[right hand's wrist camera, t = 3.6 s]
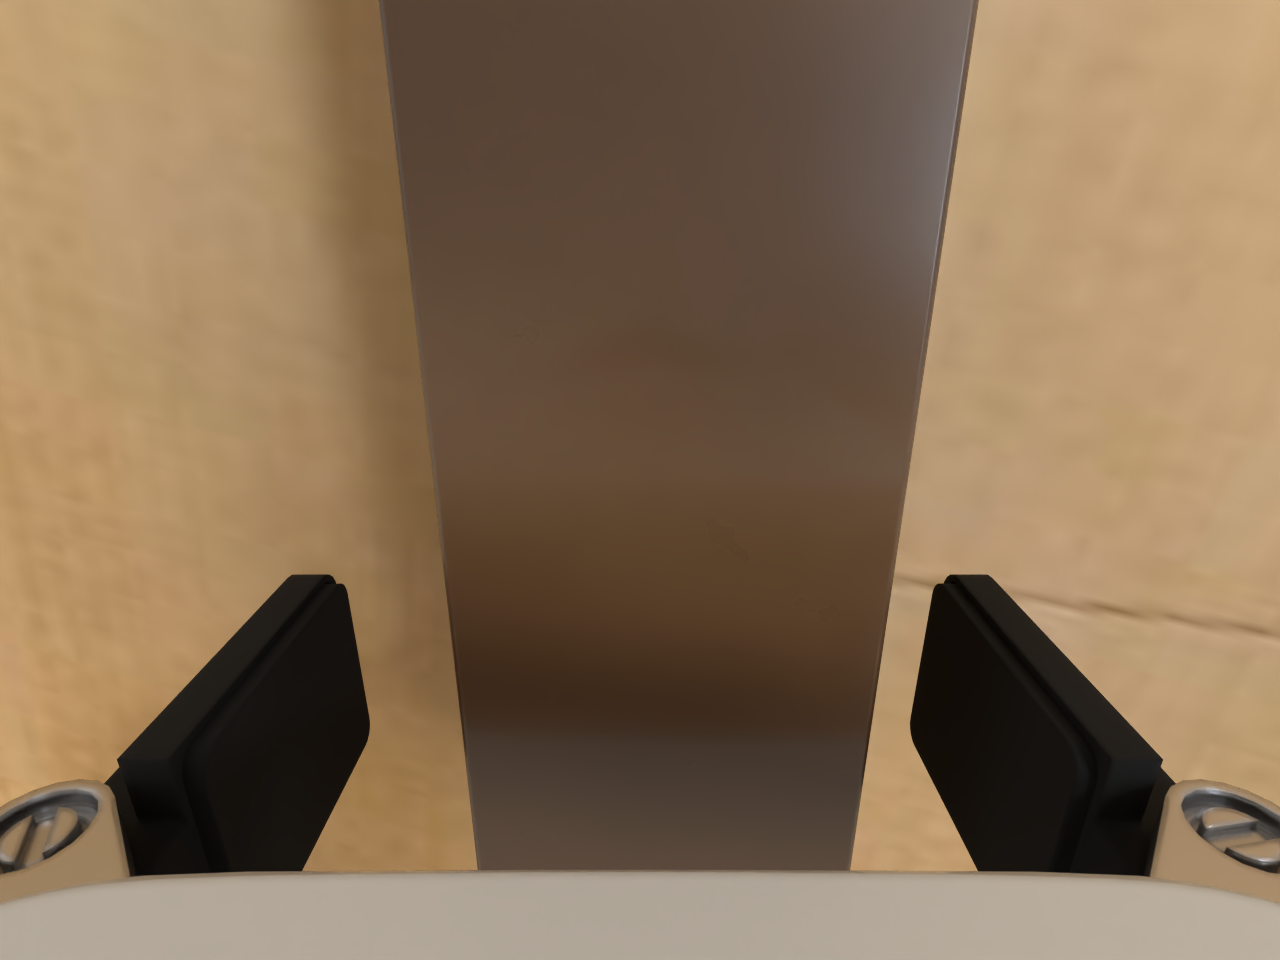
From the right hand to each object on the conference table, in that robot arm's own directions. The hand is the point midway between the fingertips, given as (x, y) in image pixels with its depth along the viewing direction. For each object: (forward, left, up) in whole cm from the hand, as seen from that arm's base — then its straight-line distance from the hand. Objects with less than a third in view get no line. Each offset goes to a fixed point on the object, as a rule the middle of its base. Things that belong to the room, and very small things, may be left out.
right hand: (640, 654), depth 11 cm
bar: (+18, -4, -5) cm, 19 cm away
